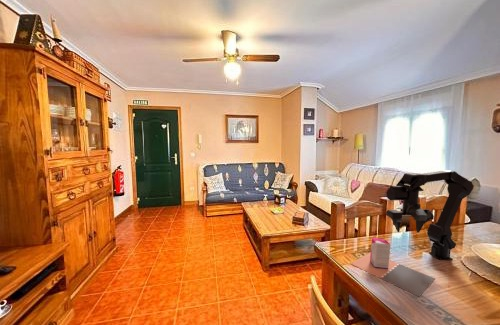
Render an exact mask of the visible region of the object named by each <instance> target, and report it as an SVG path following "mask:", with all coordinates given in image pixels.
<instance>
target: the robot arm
mask: <svg viewBox="0 0 500 325" xmlns="http://www.w3.org/2000/svg"><path fill="white" fill-rule="evenodd" d="M439 181H444V183H445V184H446V185H447V188H446V189H447V193H448V196H447V198H446V201H445V203H444V205H443V208H442V210H441V213H440V215H439V217H438V219H437V221H436V222H434V223H430V224H429V226H428V229H427V230H426V232H427V234H426V235H427V237H428V239H429V241H430V242H432V245H431V249H430V250H431V251H429V253H428V254H430V255H431V256H433V257H434V258H436V259H437V260H439V261H440V260H442V261H443V260H444V261H445V260H446V261H448V260H449V261H453V257H451V251H452V250H453V249H455V248H456V246H457V244H456V242H455V241H454V240H453V239H452V236H453V232H452V228H451V226H452V224H453V222H454V219H455V217H456V215H457V212H458V210H459V208H460V206H461V204H462V202H463V200H464V199H466V198H467V197H469V195H471V193H472V191H473V189H474V184H473V182H472V181H471V180H469V179H468V178H466V177H464V176H462V175H460V174H459V173H458V172H457V171H456V170H451V169H449V170H448V169H443V170H440V171H439V170H438V171H431V172H424V173H420V172H419V173H415V172H406V173H405V172H404V174H403V175H402V177H401V178H400V180H399V181H398V182H397V183H396V185H390V186H389V188H388V189H387V190H386V192H385V195H386V198H387V200H389V201H392V202H393V201H400V203H401V204H402V208H400V211H398V210H396V209H387V210H386V212H385V216H387V217H388V218H389V219H391V220H392V223H393V225H394V227H395V230H396V232H397V233H400V230H401V222H402V221H403V218H402V217H412V219H413V220H414V221H415V230H416V233H420V231H422V229H423V227H424V225H425V224H426V223H429V222H431V221H433V220H434V219H435V216H434V214H433V212H432V210H431V209H429V208H427V209H426V208H421V204H420V203H419V195H420V192H423V191H425V190H424V189H423V188H422V187H423V186H425V185H426V184H427V183H433V182H439Z"/></svg>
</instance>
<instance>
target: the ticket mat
mask: <svg viewBox="0 0 500 325" xmlns="http://www.w3.org/2000/svg"><path fill="white" fill-rule="evenodd" d="M370 256H371V251H370V252H367V253H366V254H364V255H363V256H361V257H359V258H358V259H356V260H354V261H352V262H351V263H350V264H351V265H352V266H354V267H356V268H358V269H361V270H362V271H364V272H367V273H369V274H370V275H372V276H375V277H377V278H379V279H382V280H383V281H385V282H387V283H390V284H391V285H394V286H396V287H398V288H400V289H402V290H403V291H406V292H408V293H410V294H413V295H414V296H417V297H419V298H420V296H421V295H422V294H423V293H424V292H425V291H426V290H427V289H428V288H429V286H430V285H431V284H432V283H433V282H434V281H435V280H436V278H435V277H433V276H430V275H428V274H425V273H423V272H421V271H417V270H415V269H414V268H413V269H412V268H411V267H408V266H406V265H403V264H400V263H398V262H396V261H393V260H390V259H389V267H388V269H380V268H374V266H373V265H372V263H371V262H370Z"/></svg>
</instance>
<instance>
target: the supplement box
mask: <svg viewBox="0 0 500 325" xmlns="http://www.w3.org/2000/svg"><path fill="white" fill-rule="evenodd" d="M370 252H371V256H370V262H371V263H372V265H373V266H374V268H380V269H388V267H389V260H390V253H391V243H389V241H388V240H387V239H385V238H375V237H371V247H370Z"/></svg>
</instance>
